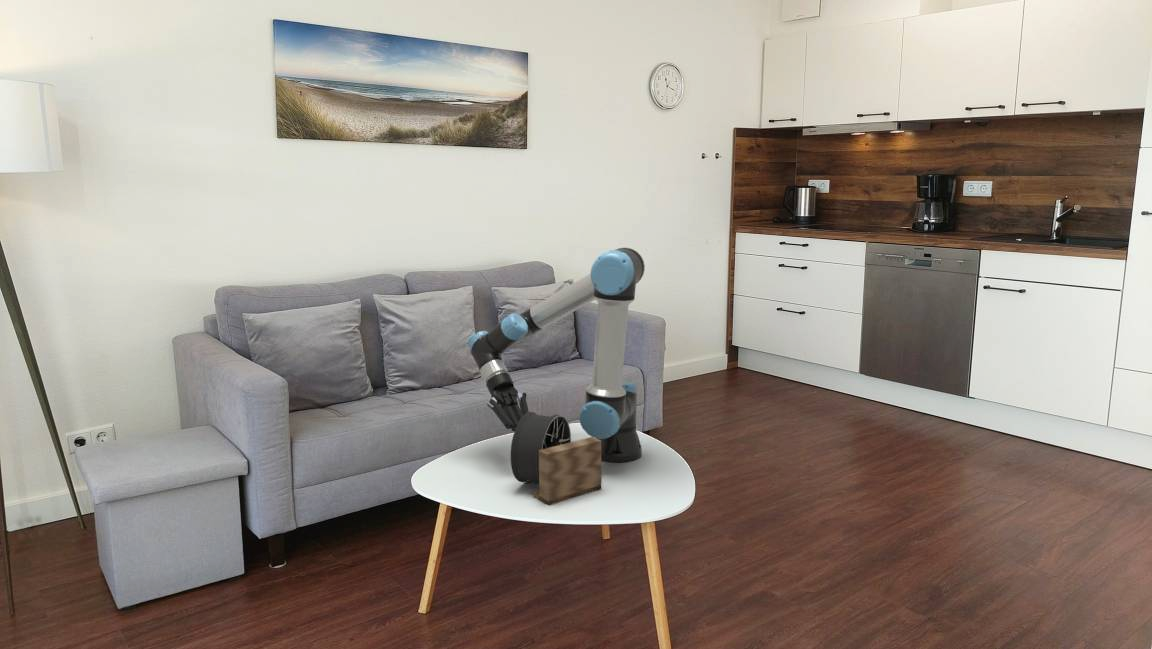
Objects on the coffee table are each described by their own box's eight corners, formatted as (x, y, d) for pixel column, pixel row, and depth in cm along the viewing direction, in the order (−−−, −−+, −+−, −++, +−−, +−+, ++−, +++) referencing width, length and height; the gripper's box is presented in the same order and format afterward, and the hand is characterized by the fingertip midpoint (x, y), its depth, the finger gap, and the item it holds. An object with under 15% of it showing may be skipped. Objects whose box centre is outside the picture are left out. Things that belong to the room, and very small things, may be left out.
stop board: (585, 481, 231) (585, 434, 229) (601, 489, 226) (601, 440, 224) (533, 497, 221) (532, 447, 218) (548, 505, 215) (547, 454, 213)
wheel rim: (541, 498, 220) (540, 426, 216) (510, 492, 224) (509, 422, 220) (571, 473, 238) (570, 406, 234) (542, 469, 242) (542, 403, 238)
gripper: (510, 382, 250) (542, 448, 240) (473, 388, 243) (505, 457, 233) (520, 368, 245) (553, 435, 235) (482, 374, 238) (515, 444, 228)
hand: (529, 446), depth 234 cm, fingers closed
